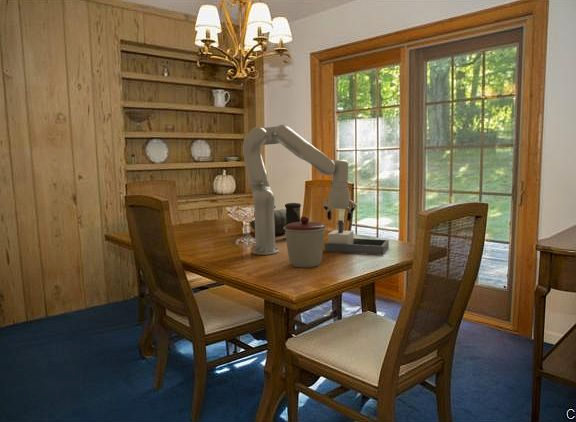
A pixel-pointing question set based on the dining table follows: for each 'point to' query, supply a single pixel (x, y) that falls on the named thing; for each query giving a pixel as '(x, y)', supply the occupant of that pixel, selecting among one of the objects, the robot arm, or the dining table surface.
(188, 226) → the dining table surface
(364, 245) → the bay
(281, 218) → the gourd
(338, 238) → the block with upright handle
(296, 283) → the dining table surface
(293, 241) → the canister
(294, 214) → the container
